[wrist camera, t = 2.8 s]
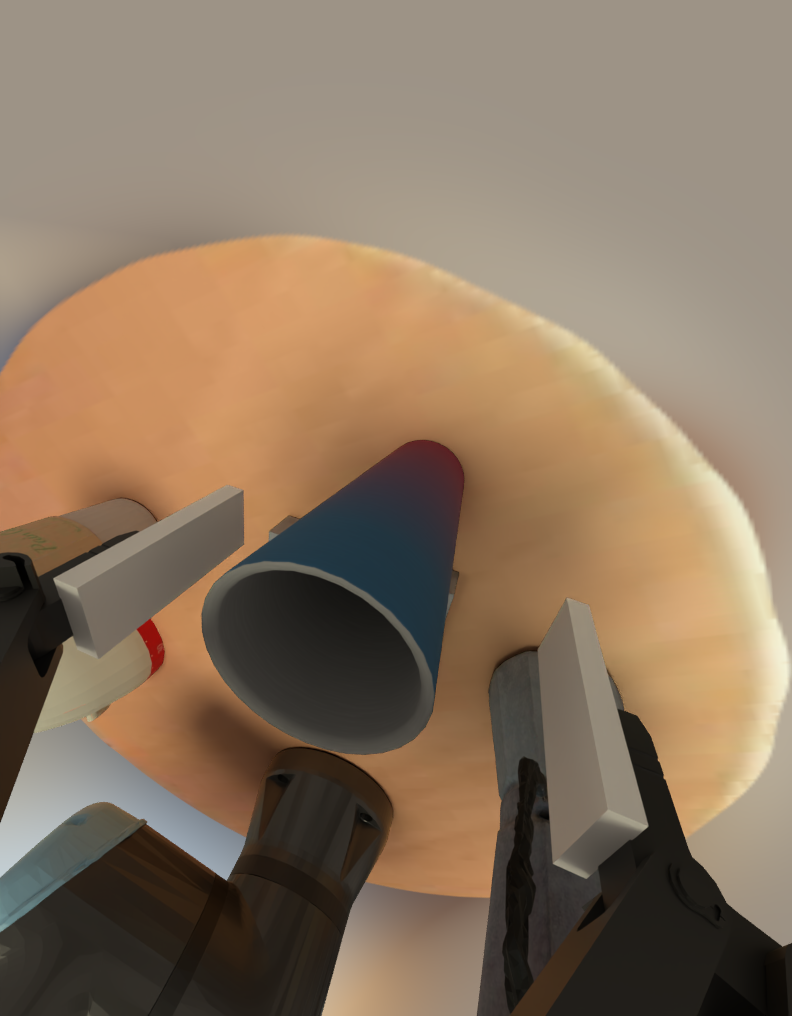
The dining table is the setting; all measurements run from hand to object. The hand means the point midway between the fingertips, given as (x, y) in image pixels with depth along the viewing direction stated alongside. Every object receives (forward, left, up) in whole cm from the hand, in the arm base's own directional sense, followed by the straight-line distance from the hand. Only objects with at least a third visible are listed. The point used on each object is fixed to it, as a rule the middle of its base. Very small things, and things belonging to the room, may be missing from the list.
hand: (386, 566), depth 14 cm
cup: (0, +1, -10) cm, 10 cm away
